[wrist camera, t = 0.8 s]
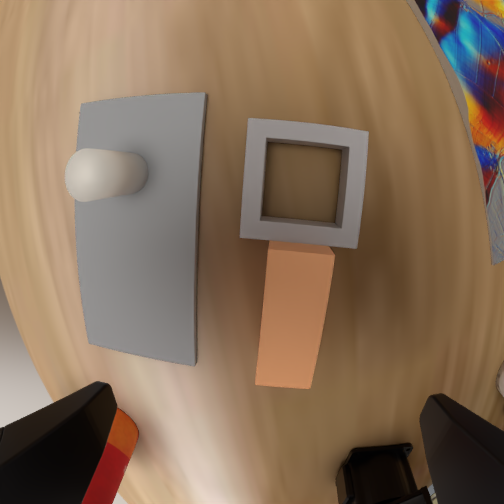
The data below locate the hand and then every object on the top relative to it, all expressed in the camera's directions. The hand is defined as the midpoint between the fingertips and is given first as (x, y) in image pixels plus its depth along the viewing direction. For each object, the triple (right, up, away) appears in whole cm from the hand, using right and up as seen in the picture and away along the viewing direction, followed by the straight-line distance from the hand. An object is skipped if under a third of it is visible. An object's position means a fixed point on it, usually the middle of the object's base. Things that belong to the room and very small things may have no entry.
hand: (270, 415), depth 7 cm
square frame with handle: (+2, +4, +11) cm, 12 cm away
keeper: (-8, +5, +12) cm, 15 cm away
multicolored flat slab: (+20, +18, +7) cm, 28 cm away
